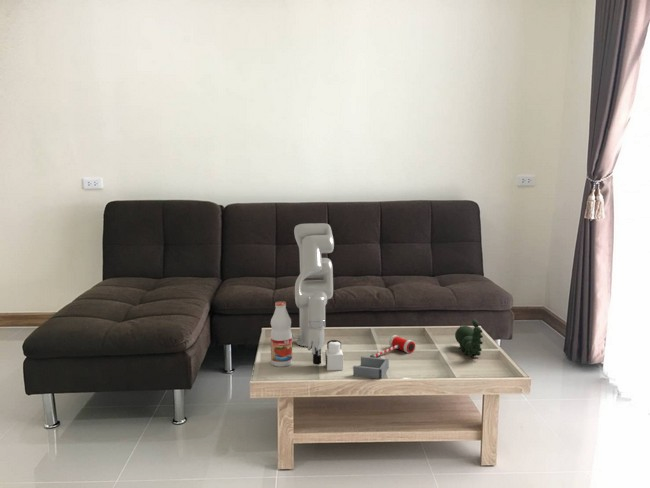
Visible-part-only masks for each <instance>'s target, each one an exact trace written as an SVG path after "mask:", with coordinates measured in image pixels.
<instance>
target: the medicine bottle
mask: <svg viewBox="0 0 650 488" xmlns="http://www.w3.org/2000/svg"><path fill="white" fill-rule="evenodd" d="M326 345H327V346H326V349H325V350H324V351H325V368H326V371H343V370H344V354H343V350H342V342H341V341H340V340H337V339H331V340H329V341H328V340H327V344H326Z"/></svg>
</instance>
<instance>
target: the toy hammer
mask: <svg viewBox="0 0 650 488" xmlns="http://www.w3.org/2000/svg"><path fill="white" fill-rule="evenodd" d="M388 343H389V348H386V349H385V350H382V351H380V352H378V353H375V354H371V355H370V356H369V357H372V358H378V357H380V356H381V354H382V355H384V354H387V353H389V352H391V351H394V350H396V349H397V350H400V351H403V352H404V353H405V352H406V353H405V354H408V353H409V354H412V353H411V352H413V351H414V352H415V350H416V342H415V341H414V340H412V339H406V338H405V339H404V338H402V337H400V336H399V335H397V334H394V335H392V336H391V337H390V339H389V342H388ZM414 352H413V353H414Z"/></svg>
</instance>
